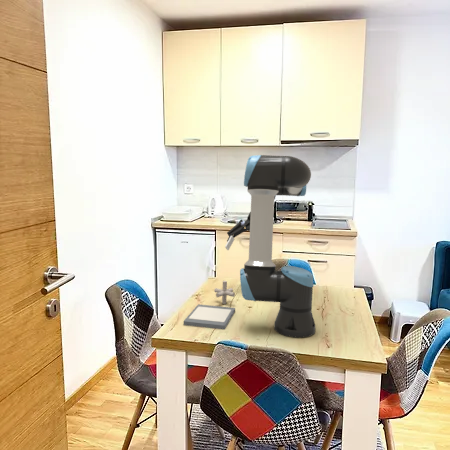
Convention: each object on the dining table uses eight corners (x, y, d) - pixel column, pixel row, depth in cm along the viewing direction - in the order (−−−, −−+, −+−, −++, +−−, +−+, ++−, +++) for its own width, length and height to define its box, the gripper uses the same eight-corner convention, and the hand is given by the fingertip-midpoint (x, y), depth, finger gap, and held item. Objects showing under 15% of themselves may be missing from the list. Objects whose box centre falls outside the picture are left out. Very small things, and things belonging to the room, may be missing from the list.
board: (198, 307, 181) (198, 303, 181) (235, 311, 178) (235, 307, 177) (183, 324, 162) (183, 320, 161) (224, 329, 158) (224, 325, 158)
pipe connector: (226, 309, 180) (227, 286, 179) (208, 303, 186) (208, 281, 185) (240, 303, 188) (240, 281, 186) (222, 298, 194) (222, 277, 192)
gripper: (283, 222, 198) (265, 259, 188) (239, 216, 212) (220, 251, 203) (278, 212, 193) (259, 250, 183) (233, 207, 207) (213, 242, 198)
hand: (238, 250), depth 193 cm, fingers open, 13 cm apart
